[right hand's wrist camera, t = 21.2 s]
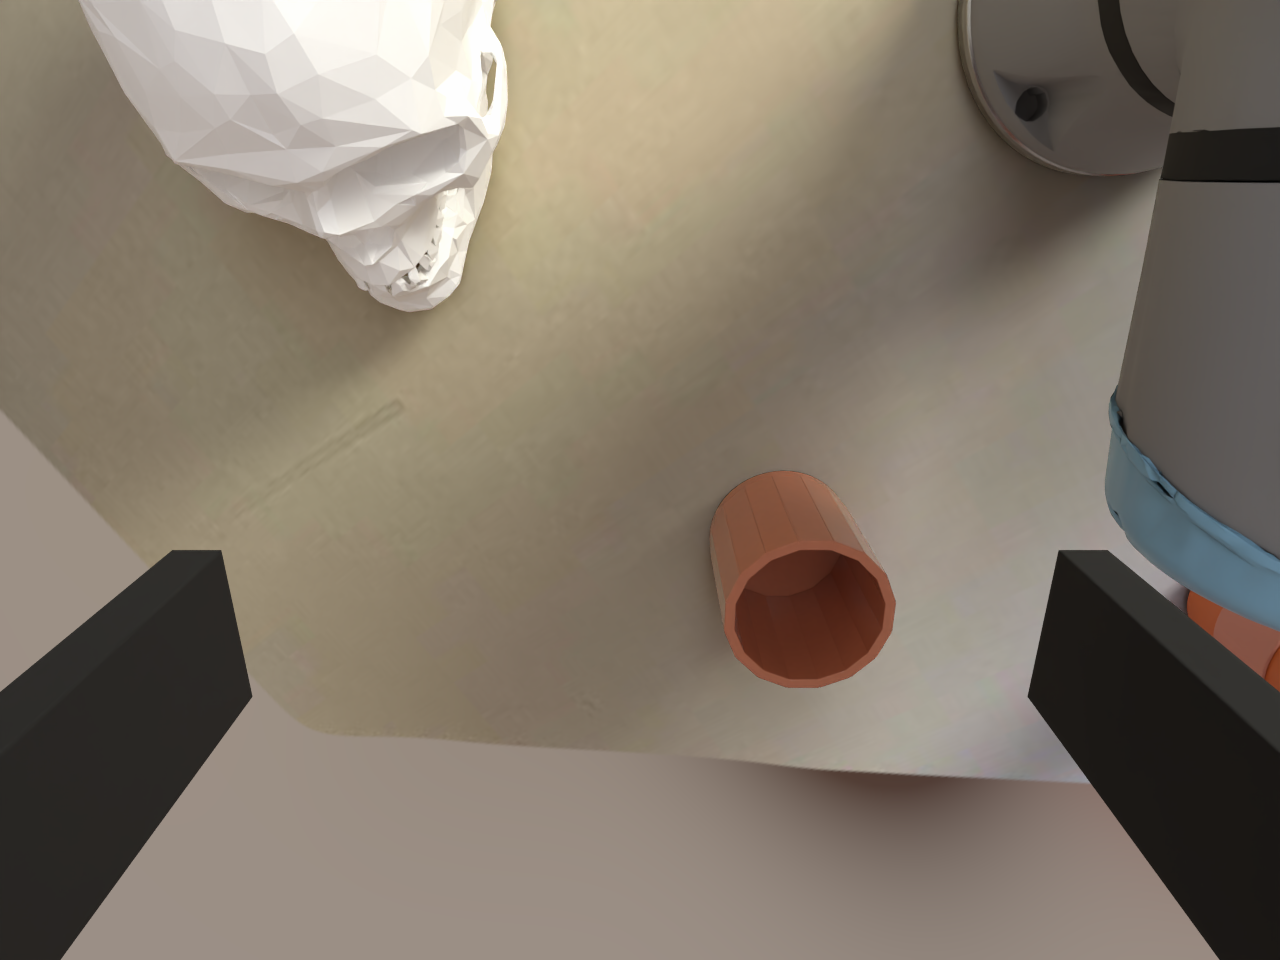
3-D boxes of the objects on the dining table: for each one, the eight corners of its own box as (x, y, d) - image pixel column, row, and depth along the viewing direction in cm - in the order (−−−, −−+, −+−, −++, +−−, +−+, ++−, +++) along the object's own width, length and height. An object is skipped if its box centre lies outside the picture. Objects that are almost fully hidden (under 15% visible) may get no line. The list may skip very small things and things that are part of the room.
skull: (318, 328, 42) (156, 415, 27) (151, -186, 34) (-210, -466, 19) (570, 281, 41) (547, 343, 26) (460, -251, 33) (339, -590, 18)
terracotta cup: (711, 470, 45) (727, 540, 36) (855, 470, 45) (904, 540, 36) (707, 596, 48) (721, 688, 39) (841, 596, 48) (884, 688, 39)
